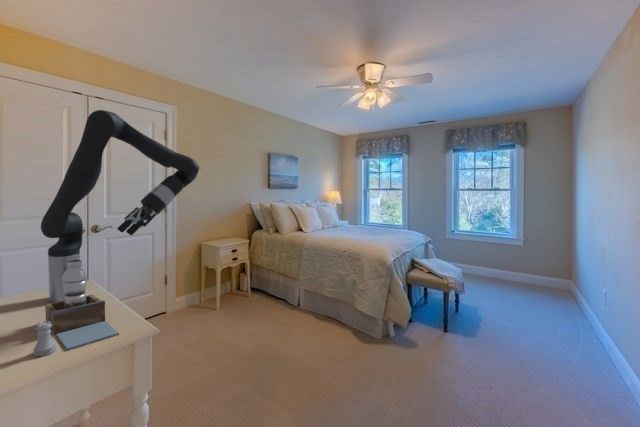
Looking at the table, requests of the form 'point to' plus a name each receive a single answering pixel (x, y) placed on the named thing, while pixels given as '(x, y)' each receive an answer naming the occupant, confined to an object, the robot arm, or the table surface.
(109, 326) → the mat
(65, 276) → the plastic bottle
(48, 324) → the rook chess piece
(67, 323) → the holder
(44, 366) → the table surface
